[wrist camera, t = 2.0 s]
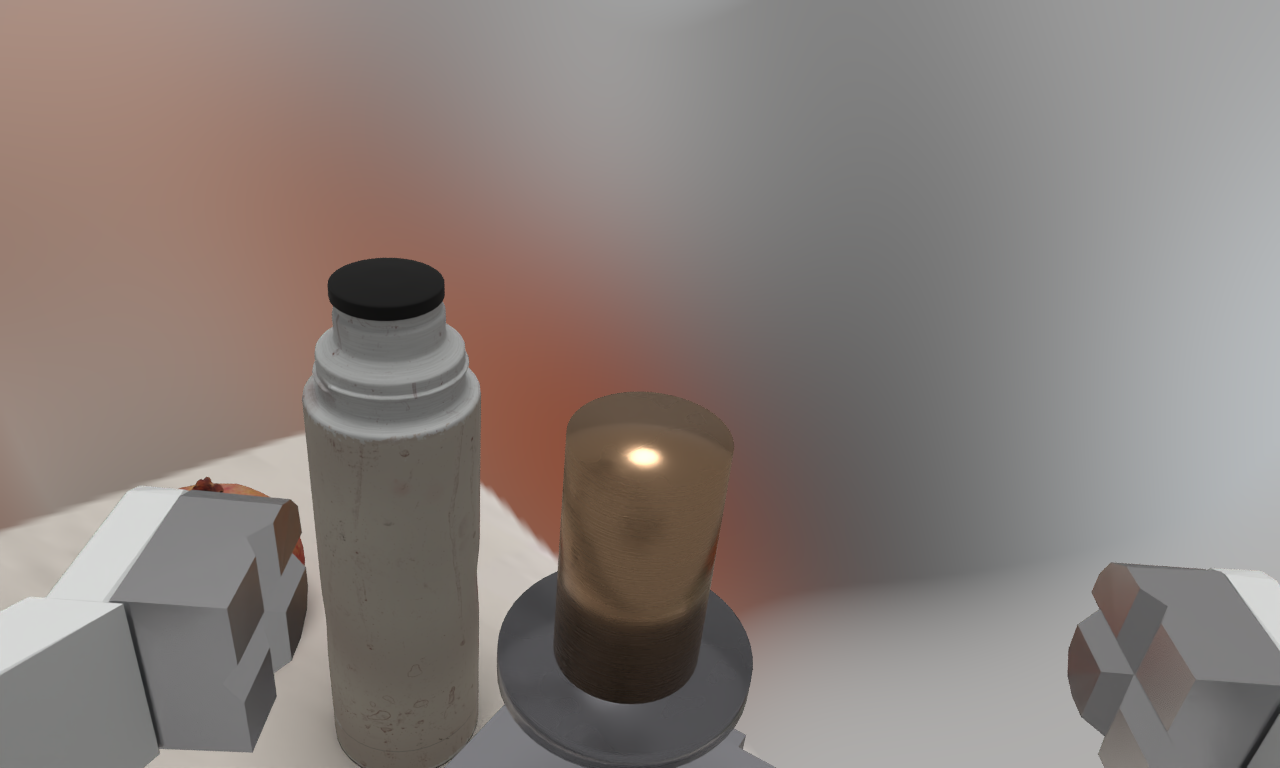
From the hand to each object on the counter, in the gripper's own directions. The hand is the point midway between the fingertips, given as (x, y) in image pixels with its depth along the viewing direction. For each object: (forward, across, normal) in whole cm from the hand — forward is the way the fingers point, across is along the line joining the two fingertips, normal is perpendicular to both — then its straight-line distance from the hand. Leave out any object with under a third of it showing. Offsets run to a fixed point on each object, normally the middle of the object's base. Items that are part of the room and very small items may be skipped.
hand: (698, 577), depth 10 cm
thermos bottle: (+31, +11, +40) cm, 52 cm away
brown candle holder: (+12, 0, +25) cm, 28 cm away
